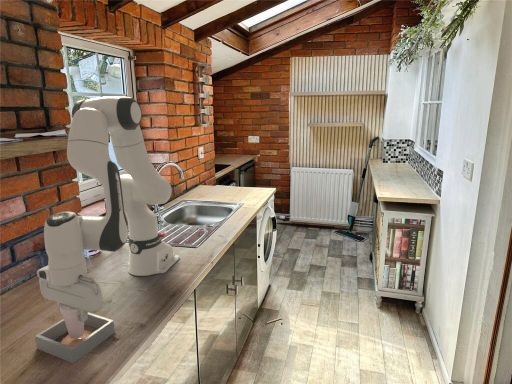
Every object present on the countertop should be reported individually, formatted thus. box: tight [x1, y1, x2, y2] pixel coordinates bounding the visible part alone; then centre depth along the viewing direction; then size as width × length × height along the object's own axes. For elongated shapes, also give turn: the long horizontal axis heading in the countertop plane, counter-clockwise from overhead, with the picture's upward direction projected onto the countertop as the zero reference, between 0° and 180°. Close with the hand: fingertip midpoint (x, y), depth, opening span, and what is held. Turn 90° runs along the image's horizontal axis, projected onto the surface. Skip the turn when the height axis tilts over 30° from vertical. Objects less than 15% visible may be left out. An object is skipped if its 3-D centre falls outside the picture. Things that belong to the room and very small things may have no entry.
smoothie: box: [59, 304, 85, 339], centre depth 97 cm, size 6×6×14 cm
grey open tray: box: [34, 312, 116, 364], centre depth 98 cm, size 14×14×4 cm
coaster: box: [60, 329, 93, 347], centre depth 99 cm, size 8×8×1 cm
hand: (74, 317), depth 97 cm, fingers closed on smoothie, 5 cm apart
